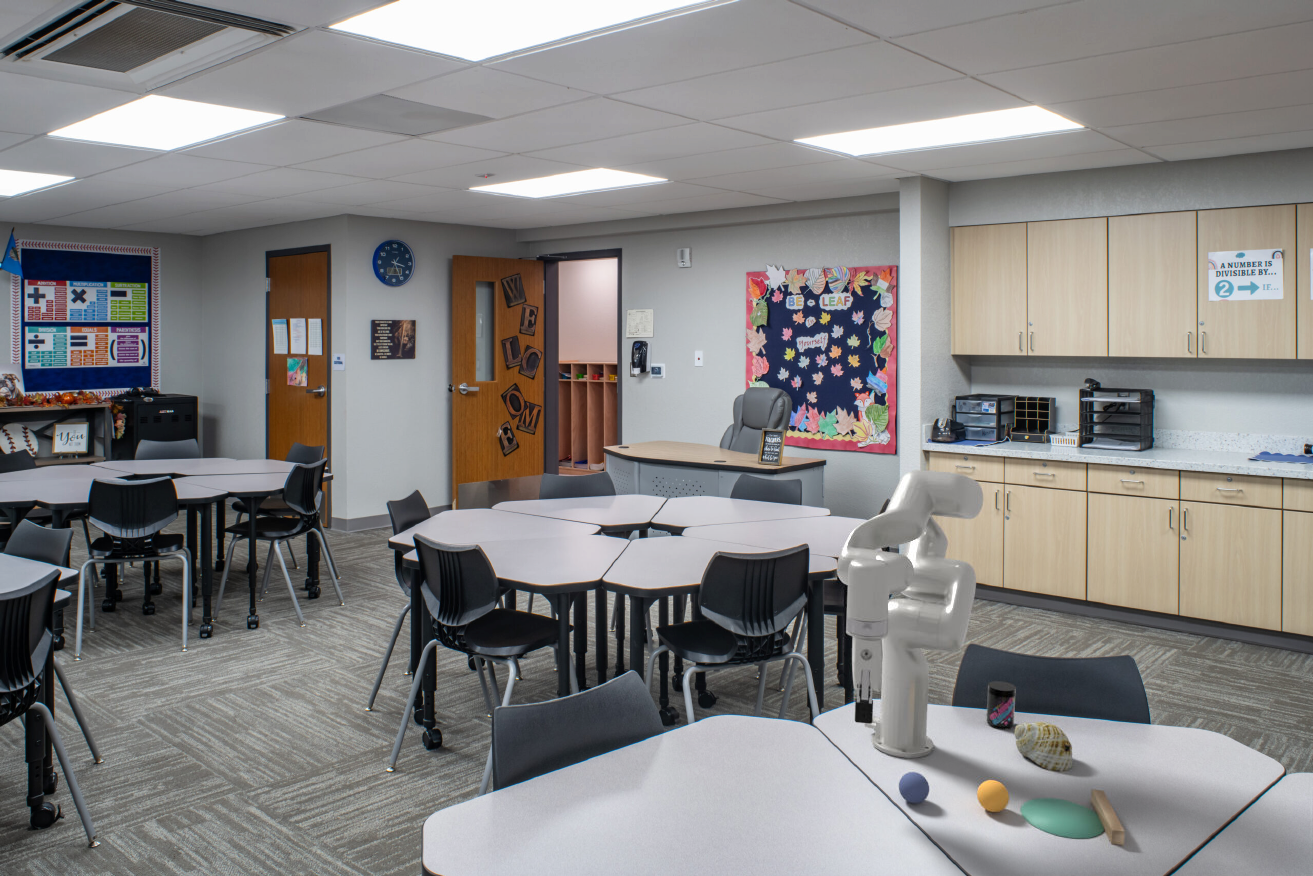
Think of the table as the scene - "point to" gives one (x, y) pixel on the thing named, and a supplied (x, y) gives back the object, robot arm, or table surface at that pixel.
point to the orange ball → (993, 796)
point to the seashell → (1044, 745)
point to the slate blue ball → (914, 787)
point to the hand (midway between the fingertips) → (863, 721)
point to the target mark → (1062, 818)
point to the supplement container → (1001, 704)
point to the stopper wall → (1108, 817)
